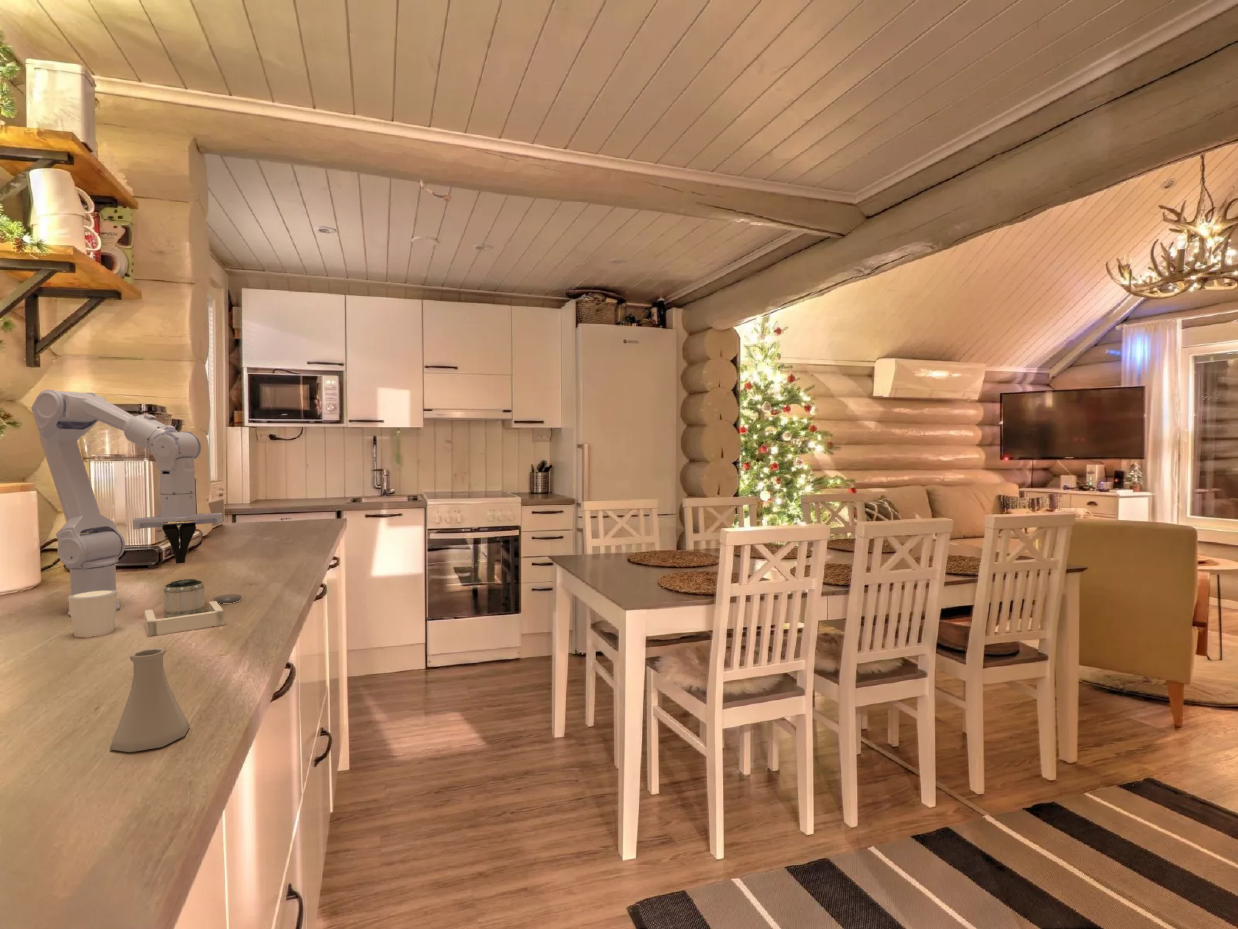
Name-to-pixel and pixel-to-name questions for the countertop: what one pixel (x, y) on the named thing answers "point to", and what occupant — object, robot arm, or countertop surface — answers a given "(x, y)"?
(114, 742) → the flask
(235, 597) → the grey round disc
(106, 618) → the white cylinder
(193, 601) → the camera lens
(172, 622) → the cradle
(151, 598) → the countertop surface
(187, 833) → the countertop surface
